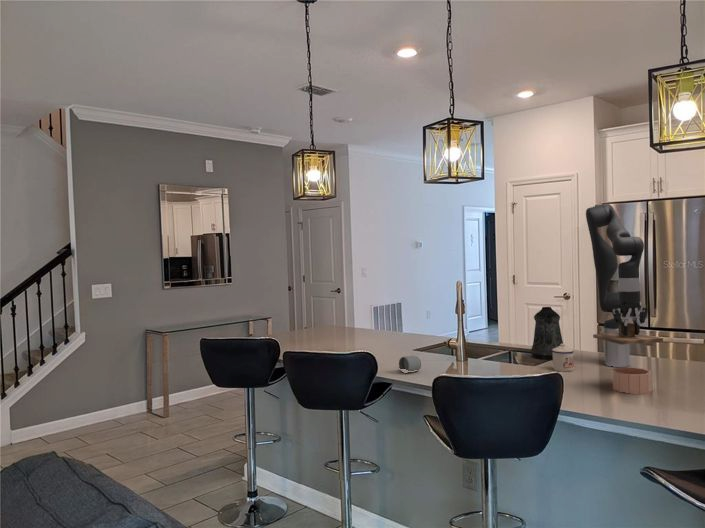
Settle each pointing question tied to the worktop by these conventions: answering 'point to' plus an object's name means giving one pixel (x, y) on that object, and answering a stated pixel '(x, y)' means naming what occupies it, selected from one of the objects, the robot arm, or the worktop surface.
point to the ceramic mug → (410, 363)
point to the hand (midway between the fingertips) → (630, 334)
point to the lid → (628, 339)
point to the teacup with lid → (563, 358)
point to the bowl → (632, 380)
